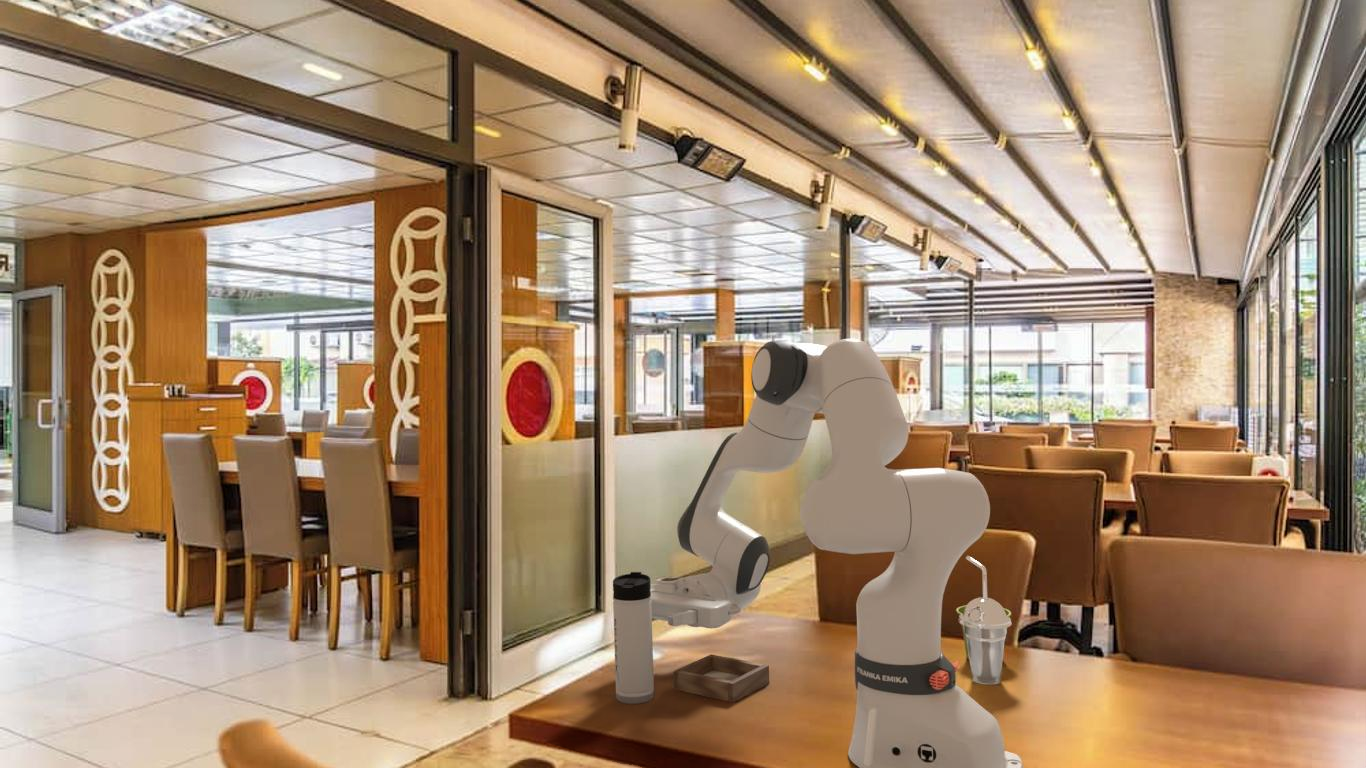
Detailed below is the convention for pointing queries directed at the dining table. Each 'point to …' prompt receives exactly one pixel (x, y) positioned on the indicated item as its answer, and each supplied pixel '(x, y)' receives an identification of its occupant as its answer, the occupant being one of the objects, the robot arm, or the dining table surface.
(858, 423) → the robot arm
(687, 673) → the open wooden tray
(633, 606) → the travel mug
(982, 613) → the cup with straw
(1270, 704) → the dining table surface
